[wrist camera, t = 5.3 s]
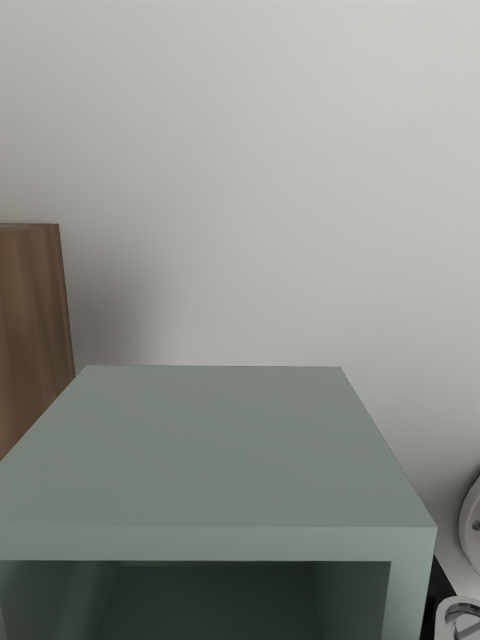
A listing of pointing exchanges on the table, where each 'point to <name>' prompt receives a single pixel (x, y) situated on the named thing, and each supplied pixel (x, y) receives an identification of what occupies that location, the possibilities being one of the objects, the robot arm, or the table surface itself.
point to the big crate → (31, 327)
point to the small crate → (210, 512)
